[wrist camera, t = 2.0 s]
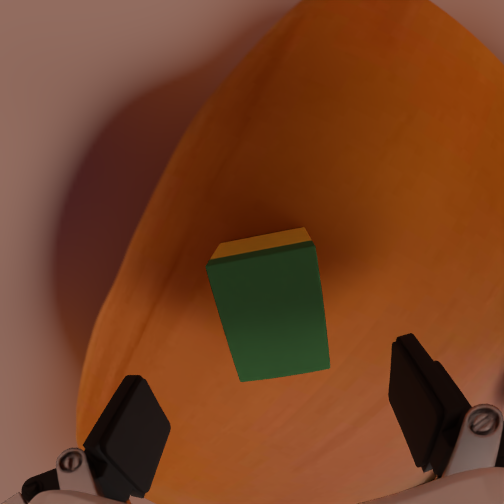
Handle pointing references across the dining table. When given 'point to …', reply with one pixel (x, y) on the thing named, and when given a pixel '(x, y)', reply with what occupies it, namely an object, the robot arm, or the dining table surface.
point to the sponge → (271, 304)
